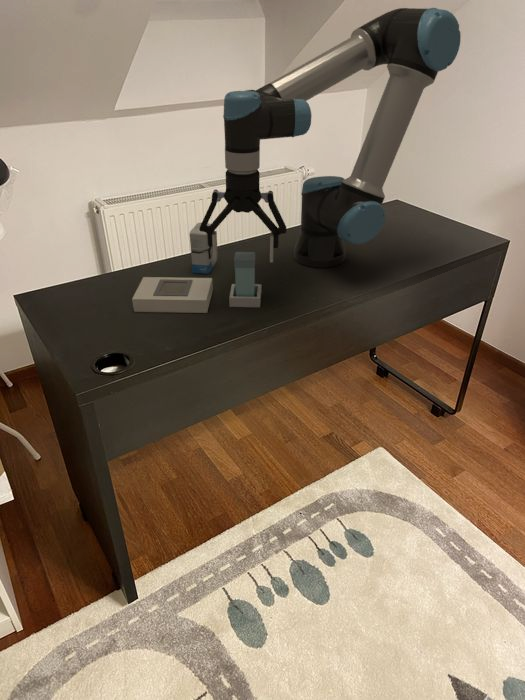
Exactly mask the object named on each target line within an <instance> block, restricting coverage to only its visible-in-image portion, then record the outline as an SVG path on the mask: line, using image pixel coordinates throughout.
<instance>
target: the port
mask: <svg viewBox="0 0 525 700" xmlns="http://www.w3.org/2000/svg"><path fill="white" fill-rule="evenodd" d="M213 291H214V285H213V278H212V277H168V276H167V277H165V276H164V277H163V276H162V277H161V276H160V277H157V276H156V277H155V276H153V277H151V276H143V277H142V279H141V281H140V283H139V285H138V287H137V288H136V291H135V292H134V294H133V297H132V298H131V300H132V307H133V312H134V313H135V312H136V313H138V312H139V313H188V314H189V313H191V314H192V313H197V314H202V313H203V314H208V310H209V307H210V304H211V299H212V295H213Z"/></svg>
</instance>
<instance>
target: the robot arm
mask: <svg viewBox="0 0 525 700" xmlns="http://www.w3.org/2000/svg"><path fill="white" fill-rule="evenodd" d="M461 35H462V34H461V31H460V24H459V22H458V19H457V18H456V15H454V13H452V12H451V11H449V10H447V9H439V8H436V7H430V8H409V7H400V8H397V9H396V8H395V9H392V10H390V11H387V12H385V13H383V14H381V15H379V16H377V17H375V18H373V19H372V20H370V21H368V22H366V23H364V24H362V25H361V26H359V27H357V28H356V29H354V30H353V31H352V32H351V35H350V38H347V39H346V40H343V41H342V42H340V43H338V44H337V45H335V46H333V47H331V48H329V49H328V50H326V51H324V52H323V53H321V54H319V55H317V56H315V57H314V58H312V59H309V60H308V61H306V62H305V63H303V64H301V65H298V66H297V67H295V68H294V69H292V70H291V71H288V72H287V73H285V74H283V75H282V76H280V77H278V78H276V79H274V80H273V81H271V82H269V83H267V84H265V85H263V86H261V87H260V88H258V89H256V90H255V89H246V90H233V91H230V92H227V93H226V94H225V96H224V100H223V101H224V102H223V116H222V118H223V123H224V124H223V127H224V128H223V129H224V159H225V160H224V161H225V162H224V163H225V165H224V166H225V169H226V171H225V191H219V190H218V189H213V192H212V194H211V202H210V204H209V206H208V209H207V211H206V213H205V214H204V217H203V219H202V222H200V223H201V226H200V228H199V230H200V231H201V232H206V233H207V235H208V246H209V247H213V261H216V262H217V261H218V257H219V256H218V233H217V230H216V229H217V228H218V227H219V226H220V225H221V223H222V222H223V221H224V220H225V219H226V218H227V217H228V215H229V214H230V213H231V212H232V211H233V212H235V213H248V214H249V213H251V212H253V213H254V214H255V215H256V216H257V217H258V219H260V221H261V222H262V223H263V224H264V225H265V226H266V228H268V230H269V231H270V236H269V239H270V240H269V242H270V243H269V263H274V249H278V247H279V236H280V235H281V234H286V233H287V226H286V222H285V221H284V219H283V217H282V215H281V213H280V211H279V209H278V206H277V204H276V202H275V199H274V198H275V197H274V191H272V190H268V191H267V192H261V190H260V174H261V173H260V171H259V169H260V167H261V166H260V162H261V161H260V159H261V158H260V156H261V155H260V154H261V153H260V152H261V147H260V145H261V140H271V139H282V138H295V137H301V136H304V135H306V134H307V133H308V131H309V130H310V128H311V126H312V125H311V124H312V109H311V106H310V104H309V103H308V102H307V101H309V100H311V99H312V98H314V97H315V96H318V95H319V94H321V93H323V92H325V91H326V90H328V89H330V88H332V87H334V86H335V85H337V84H339V83H340V82H342V81H344V80H345V79H347V78H349V77H351V76H352V75H353V76H354V74H355V75H356V73H358V72H360V71H361V70H364V71H370V70H372V69H374V68H377V67H378V66H383V65H386V68H387V70H388V74H389V77H388V80H387V82H386V85H385V87H384V90H383V93H382V95H381V97H380V100H379V102H378V105H377V108H376V109H375V110H376V111H375V113H374V116H373V119H372V121H371V123H370V125H369V128H368V131H367V133H366V135H365V138H364V141H363V144H362V146H361V148H360V152H359V153H358V157H357V158H356V161H355V163H354V166H353V169H352V171H351V174H350V176H349V177H347V178H344V177H342V176H335V175H333V176H332V175H325V176H324V175H322V176H314V177H310V178H307V179H306V180H304V182H303V184H302V189H301V207H300V208H301V210H300V211H301V212H300V213H301V215H300V232H299V235H298V237H297V240H296V243H295V246H294V248H293V258H294V260H295V261H296V262H297V263H299V264H301V265H302V266H307V267H311V268H320V269H321V268H331V267H336V266H339V265H341V264H343V263H344V262H345V260H346V248H345V242H347V243H350V244H352V245H364V244H366V243H368V242H369V241H372V240H374V238H376V237H377V236H378V235H379V233H380V232H381V230H382V228H383V227H384V225H385V222H386V215H385V213H386V211H385V208H384V207H383V202H384V201H385V197H386V196H385V193H384V191H383V189H384V188H383V187H384V185H385V182H386V181H387V178H388V175H389V173H390V171H391V169H392V166H393V164H394V161H395V159H396V157H397V153H398V151H399V149H400V147H401V145H402V142H403V140H404V138H405V135H406V132H407V131H408V128H409V126H410V123H411V121H412V119H413V116H414V113H415V111H416V108H417V106H418V104H419V101H420V99H421V96H422V95H423V93H424V92H423V91H424V90H425V89H426V88H427V87H429V86H430V85H433V84H434V82H435V80H436V78H437V76H438V73H439V72H441V71H443V70H446V69H447V68H448V67H449V66H451V65H452V64H453V63H454V61H455V60H456V58H457V55H458V53H459V50H460V45H461V37H462V36H461ZM222 199H224V200H225V202H226V203H227V204H226V205H225V207H224V208H223V209H222V211H221V212H220V213H219V214H218V215H217V216H216V218H215V219H214V220H213V221H212V223H210V224H211V225H210V226H208V225H207V223H209V221H210V219H211V217H212V215H213V212H214V210H215V209H216V206H217V203H218V202H221V201H222ZM261 200H263V201H264V203H268V207H269V209H270V211H271V213H272V215H273V217H274V220H275V222H276V224H277V225H276V224H275V222H273V220H272V219H271V218H270V217H269V216H268V214H267V213H266V212H265V211H264V210H263V208H262V207H261V205H260V204H259V203H260V201H261Z"/></svg>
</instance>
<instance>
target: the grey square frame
mask: <svg viewBox="0 0 525 700" xmlns="http://www.w3.org/2000/svg"><path fill="white" fill-rule="evenodd" d="M255 295H256V296H255V297H237V296H236V283H232V284H231V287H230V292H229V298H228V302H229V308H261V302H262V284H259V283H255Z"/></svg>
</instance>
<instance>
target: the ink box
mask: <svg viewBox="0 0 525 700" xmlns="http://www.w3.org/2000/svg"><path fill="white" fill-rule="evenodd" d="M201 223H202V222H197V223H196V224H195V225H194V226H193V228H191V230H190V231H189V242H190V243H189V244H190V254H191V266H192V267H191V268H192V273H193V274H204V275H205V274H206V275H209V274H210V272H211V271H212V269H214V266H215V265H216V263H217V260H216V261H213V247H209V246H208V235H207V233H206V232H201V231H200V230H199V228H200V226H201ZM211 224H212V223H209V222H208V223H207V225H208V226H210V225H211Z"/></svg>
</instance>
